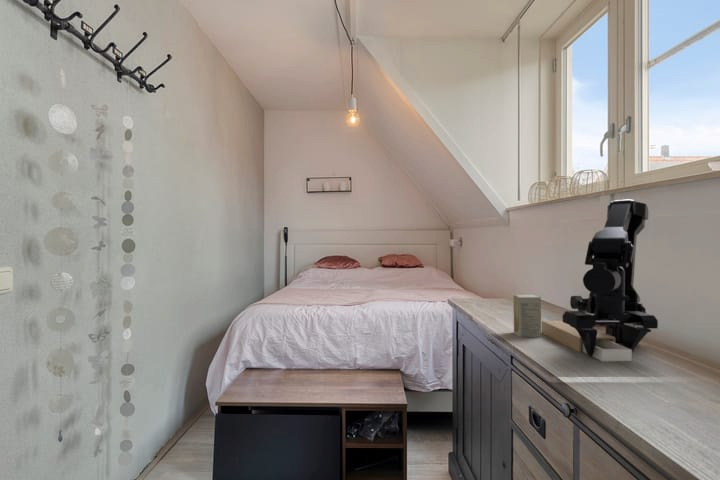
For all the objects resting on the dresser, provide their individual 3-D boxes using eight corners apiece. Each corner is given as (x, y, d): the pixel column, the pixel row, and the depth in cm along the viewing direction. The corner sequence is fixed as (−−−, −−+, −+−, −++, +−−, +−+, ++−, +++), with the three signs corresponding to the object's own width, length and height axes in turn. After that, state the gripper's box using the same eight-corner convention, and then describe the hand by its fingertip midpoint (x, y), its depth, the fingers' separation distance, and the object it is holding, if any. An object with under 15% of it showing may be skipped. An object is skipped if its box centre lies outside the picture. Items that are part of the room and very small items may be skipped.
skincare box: (535, 335, 96) (535, 294, 96) (541, 340, 91) (542, 297, 91) (512, 335, 96) (512, 294, 96) (518, 339, 92) (518, 296, 92)
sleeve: (571, 335, 96) (571, 320, 96) (615, 355, 80) (615, 337, 80) (541, 335, 96) (541, 320, 96) (579, 355, 80) (579, 337, 80)
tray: (582, 340, 90) (582, 329, 90) (631, 362, 74) (631, 349, 74) (558, 340, 90) (558, 329, 90) (602, 362, 74) (602, 349, 74)
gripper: (620, 284, 85) (619, 344, 85) (549, 284, 84) (548, 344, 84) (660, 292, 73) (659, 360, 74) (578, 291, 73) (578, 361, 73)
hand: (608, 355), depth 77 cm, fingers open, 8 cm apart
